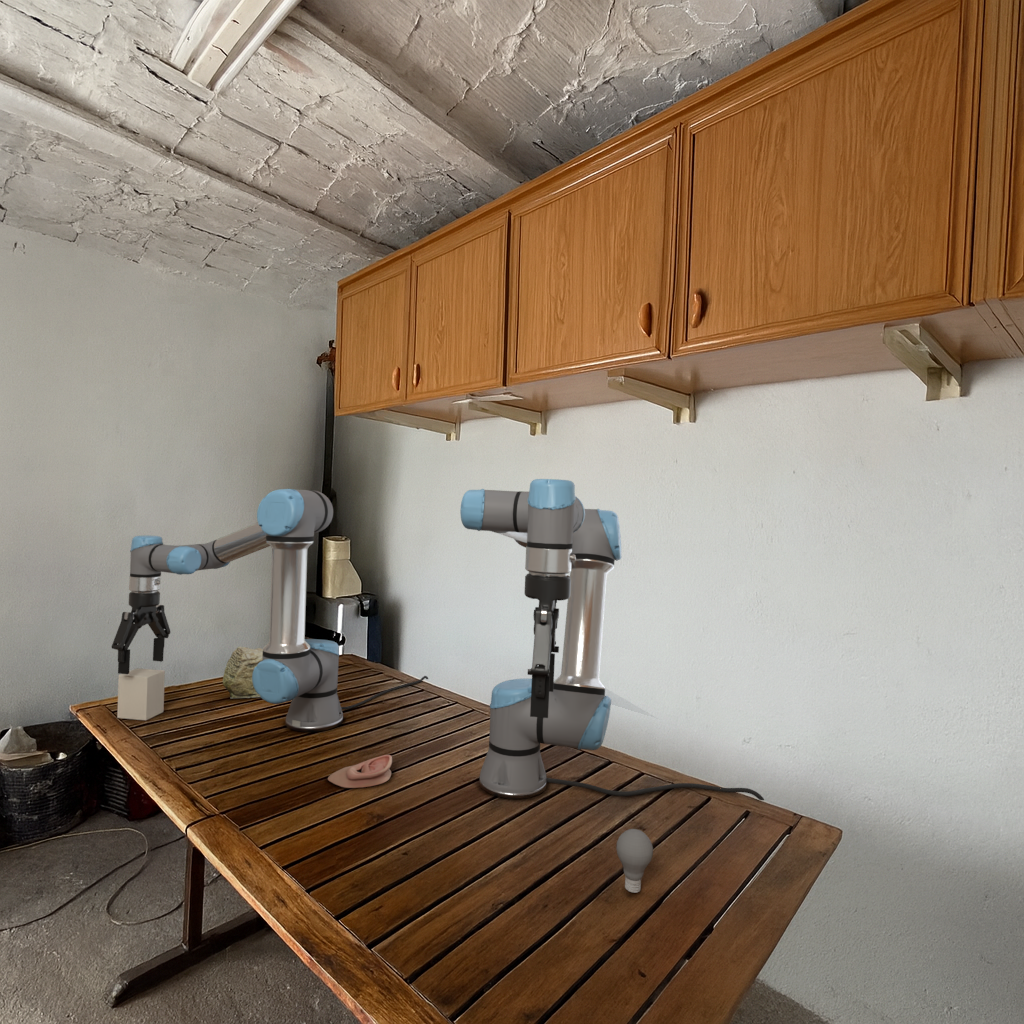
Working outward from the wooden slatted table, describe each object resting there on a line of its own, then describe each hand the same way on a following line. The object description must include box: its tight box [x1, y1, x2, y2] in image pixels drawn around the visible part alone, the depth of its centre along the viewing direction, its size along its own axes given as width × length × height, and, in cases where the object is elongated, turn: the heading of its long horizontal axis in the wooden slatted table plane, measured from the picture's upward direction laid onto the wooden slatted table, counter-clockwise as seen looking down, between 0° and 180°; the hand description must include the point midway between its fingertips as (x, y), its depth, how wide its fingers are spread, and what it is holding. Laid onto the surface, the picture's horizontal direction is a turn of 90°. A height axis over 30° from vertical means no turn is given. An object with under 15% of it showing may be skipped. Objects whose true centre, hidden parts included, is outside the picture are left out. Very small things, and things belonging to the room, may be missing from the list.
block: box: [116, 667, 166, 721], centre depth 177 cm, size 9×7×12 cm
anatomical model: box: [327, 754, 393, 789], centre depth 143 cm, size 13×4×12 cm
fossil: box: [222, 646, 263, 699], centre depth 198 cm, size 9×18×15 cm, turn 132°
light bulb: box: [615, 828, 654, 894], centre depth 106 cm, size 6×6×10 cm
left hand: (141, 667), depth 177 cm, fingers open, 13 cm apart
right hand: (542, 703), depth 104 cm, fingers open, 13 cm apart
